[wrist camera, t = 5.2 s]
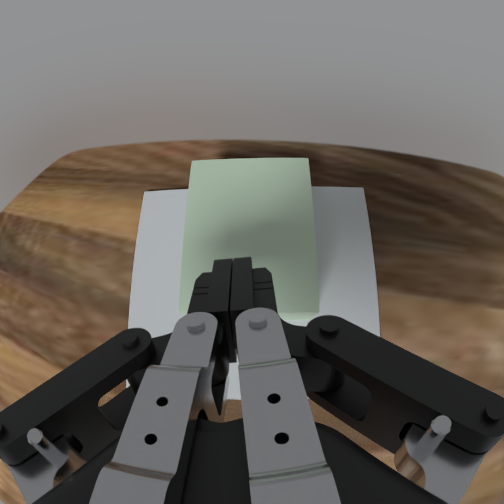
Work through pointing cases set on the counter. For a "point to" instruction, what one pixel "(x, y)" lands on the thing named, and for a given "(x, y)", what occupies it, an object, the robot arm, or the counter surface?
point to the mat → (328, 260)
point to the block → (254, 227)
